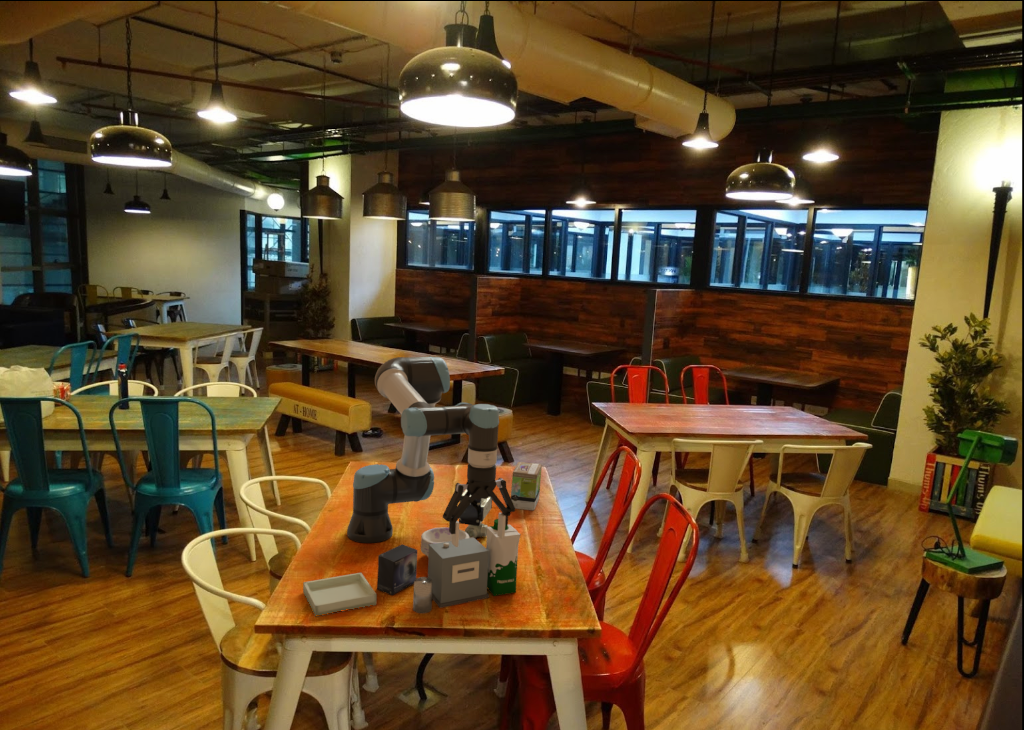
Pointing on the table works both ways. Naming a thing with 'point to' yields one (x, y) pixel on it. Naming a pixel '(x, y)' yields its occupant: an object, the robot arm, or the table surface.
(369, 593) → the tray
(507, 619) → the table surface
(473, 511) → the ball valve
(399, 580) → the small box
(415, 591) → the grey cylinder
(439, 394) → the robot arm
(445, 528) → the paper bowls
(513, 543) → the milk carton
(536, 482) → the tea box
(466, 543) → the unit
